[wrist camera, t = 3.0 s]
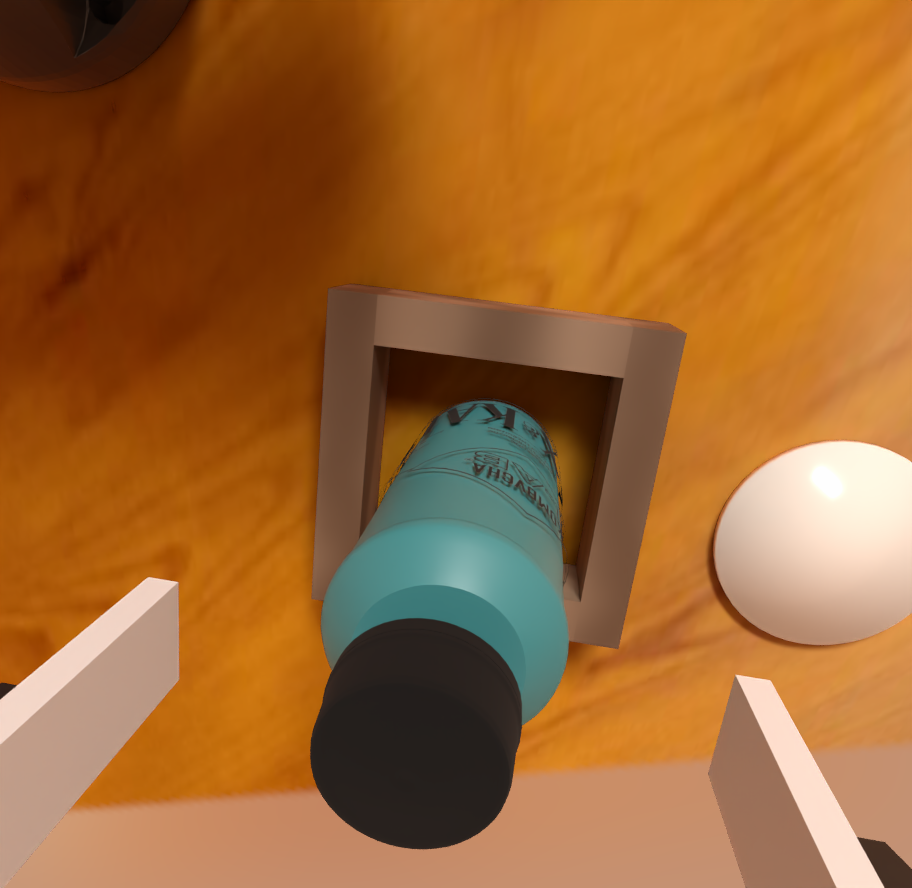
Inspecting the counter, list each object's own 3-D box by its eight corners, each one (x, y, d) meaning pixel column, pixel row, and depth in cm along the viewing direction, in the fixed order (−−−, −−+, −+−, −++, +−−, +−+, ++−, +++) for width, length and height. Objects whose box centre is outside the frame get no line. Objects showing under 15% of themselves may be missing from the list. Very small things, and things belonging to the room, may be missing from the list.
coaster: (692, 620, 32) (694, 626, 32) (741, 425, 29) (744, 428, 29) (904, 654, 31) (910, 661, 31) (977, 457, 28) (985, 460, 28)
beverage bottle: (526, 537, 32) (514, 965, 13) (399, 488, 32) (199, 842, 13) (581, 416, 30) (660, 712, 11) (444, 363, 30) (288, 567, 11)
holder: (333, 564, 34) (311, 598, 30) (351, 283, 29) (328, 288, 26) (609, 607, 33) (618, 648, 29) (668, 323, 28) (686, 333, 25)
